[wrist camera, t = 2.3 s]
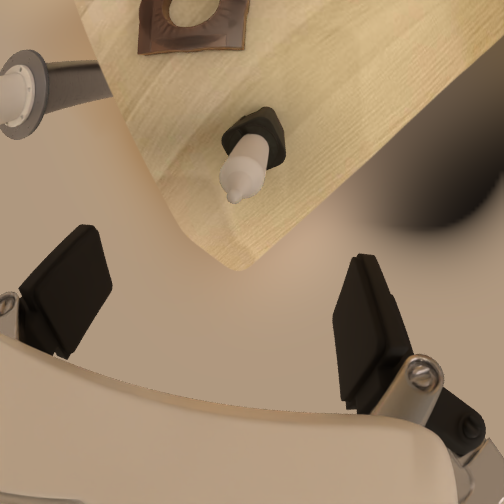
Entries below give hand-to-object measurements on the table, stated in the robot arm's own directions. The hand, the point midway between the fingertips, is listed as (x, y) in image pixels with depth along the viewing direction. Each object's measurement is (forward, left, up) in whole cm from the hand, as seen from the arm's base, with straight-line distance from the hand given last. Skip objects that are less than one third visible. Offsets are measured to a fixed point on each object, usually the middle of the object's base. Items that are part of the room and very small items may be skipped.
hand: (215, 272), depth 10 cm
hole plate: (-10, +18, -31) cm, 37 cm away
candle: (0, 0, -31) cm, 31 cm away
